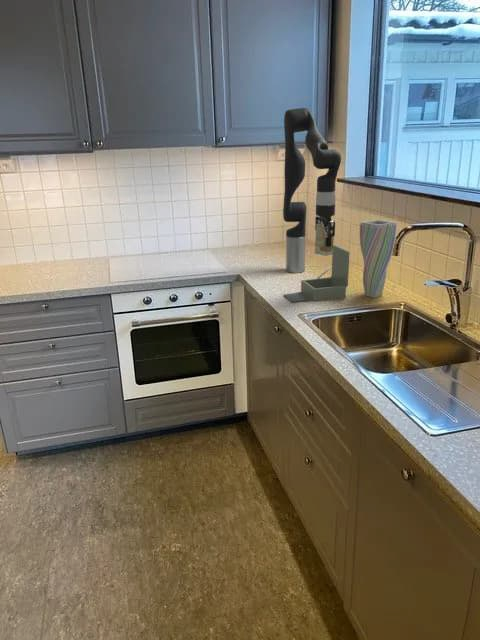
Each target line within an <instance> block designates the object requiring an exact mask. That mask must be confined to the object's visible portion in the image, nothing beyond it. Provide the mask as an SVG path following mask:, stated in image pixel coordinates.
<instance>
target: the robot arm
mask: <svg viewBox="0 0 480 640" xmlns="http://www.w3.org/2000/svg"><path fill="white" fill-rule="evenodd" d="M314 118H315V117H314V116H313V114H312V112H311V111H310V109H308V108H307V107H299V108H292V109H287V110H286V111H285V112H284V118H283V126H284V127H283V130H284V168H283V169H284V192H283V193H284V197H283V207H282V208H283V209H282V217H283V221H284V222H286V223H298V224H296V225H295V226H293V227H291V228H288V229H287V230H286V232H285V233H286V234H285V237H286V238H285V240H286V241H285V243H286V244H285V247H286V248H285V250H286V251H285V253H286V255H285V257H286V259H285V266H286V267H285V270H286V272H288V273H291V274H292V273H295V274H297V273H303V272H305V271H306V224H307V223H306V221H307V205H306V202H305V201H292V198H293V196H294V194H295V193H296V191H297V189H298V188H299V187H300V185H301V184H302V183H303V181H304V180H305V179H304V178H305V176H306V160H305V158H304V156H303V153H302V152H301V151H300V150H299V148H298V146H297V144H296V142H295V141H296V140H295V133H301V132H306V136H305V139H304V141H305V145H306V148H307V150H308V151H309V152H310V154H311V159H312V164H313V167H315V169H318V170H327V171H326V173H324V174H323V175H320V176H318V177H317V179H316V195H315V196H316V197H315V215H316V216H315V218H314V219H315V225H314V228H315V229H314V230H315V232H316V224H322V226H323V231H324V232H325V235H326V244H325V246H326V247H330V246H331V240H332V237H333V236H334V237H335V235H336V221H335V220H332V217H333V216H335V215H336V180H337V176H338V173H339V170H340V166H341V162H342V155H341V152H340V151H339V150H338V149H335V148H330V149H329V144H328V143H327V142H326V139H324V137H323V136H322V134H321V133H320V131H319V129H318V126H317V123H316V121H315V119H314ZM327 226H328V229H326V228H325V227H327ZM332 230H333V231H332ZM327 231H328V233H327Z"/></svg>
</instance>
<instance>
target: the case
mask: <svg viewBox="0 0 480 640" xmlns="http://www.w3.org/2000/svg"><path fill="white" fill-rule="evenodd" d="M331 255H332V256H331V265H330V266H329V267H327V269H326V270H324V271H323V272H322V273H320V275H319V276H318V277H316V278H311V279H310V278H308V279H301V280H300V293H301V292H302V293H303V294H304V295H305V296H307V297H308V298H309V299H311V301H313V302H318V301H319V302H320V301H328V300H334V299H345V298H346V297H347V296H346V295H347V287H348V286H349V275H350V274H349V270H350V269H349V268H350V251H349V250H346V249H344V248H343V247H340V246H338V245H335V244H333V254H331ZM330 269H331V276H329V277H322V276H323V275H325V274H326V273H327V272H328V271H329V270H330ZM321 277H322V278H321Z"/></svg>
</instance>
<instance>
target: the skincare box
mask: <svg viewBox="0 0 480 640" xmlns="http://www.w3.org/2000/svg"><path fill="white" fill-rule="evenodd" d="M325 228H326V229H328V226H327V227H325ZM332 231H333V230H332ZM327 233H328V231H327ZM334 238H335V236H333V237H332V240H331V246H330V247H326V246H325V244H326V235H325V232H324V231H323V226H322V224H316V231H315V243H314V254H315V255H321V256H326V257H328V256H331V255H332V254H333V245H334V240H335V239H334Z"/></svg>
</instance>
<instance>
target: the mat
mask: <svg viewBox="0 0 480 640" xmlns="http://www.w3.org/2000/svg"><path fill="white" fill-rule="evenodd" d="M283 297H285V298H286V299H287V300H288V302H290V303H291V304H294V303H295V304H296V303H303V302H311V301H312V300H311V299H310V298H309V297H308V296H306V295H305V294H304V293H302V292H301V291H300V292H294V293H285V294H283Z"/></svg>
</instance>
